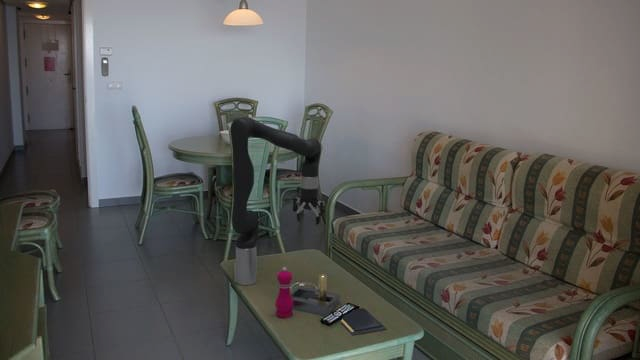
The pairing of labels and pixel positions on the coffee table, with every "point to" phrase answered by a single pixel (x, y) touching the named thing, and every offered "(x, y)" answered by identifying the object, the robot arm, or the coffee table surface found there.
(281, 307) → the pepper mill
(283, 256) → the coffee table surface
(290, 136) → the robot arm
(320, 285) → the bolt
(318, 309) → the keyhole plate
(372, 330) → the wallet
